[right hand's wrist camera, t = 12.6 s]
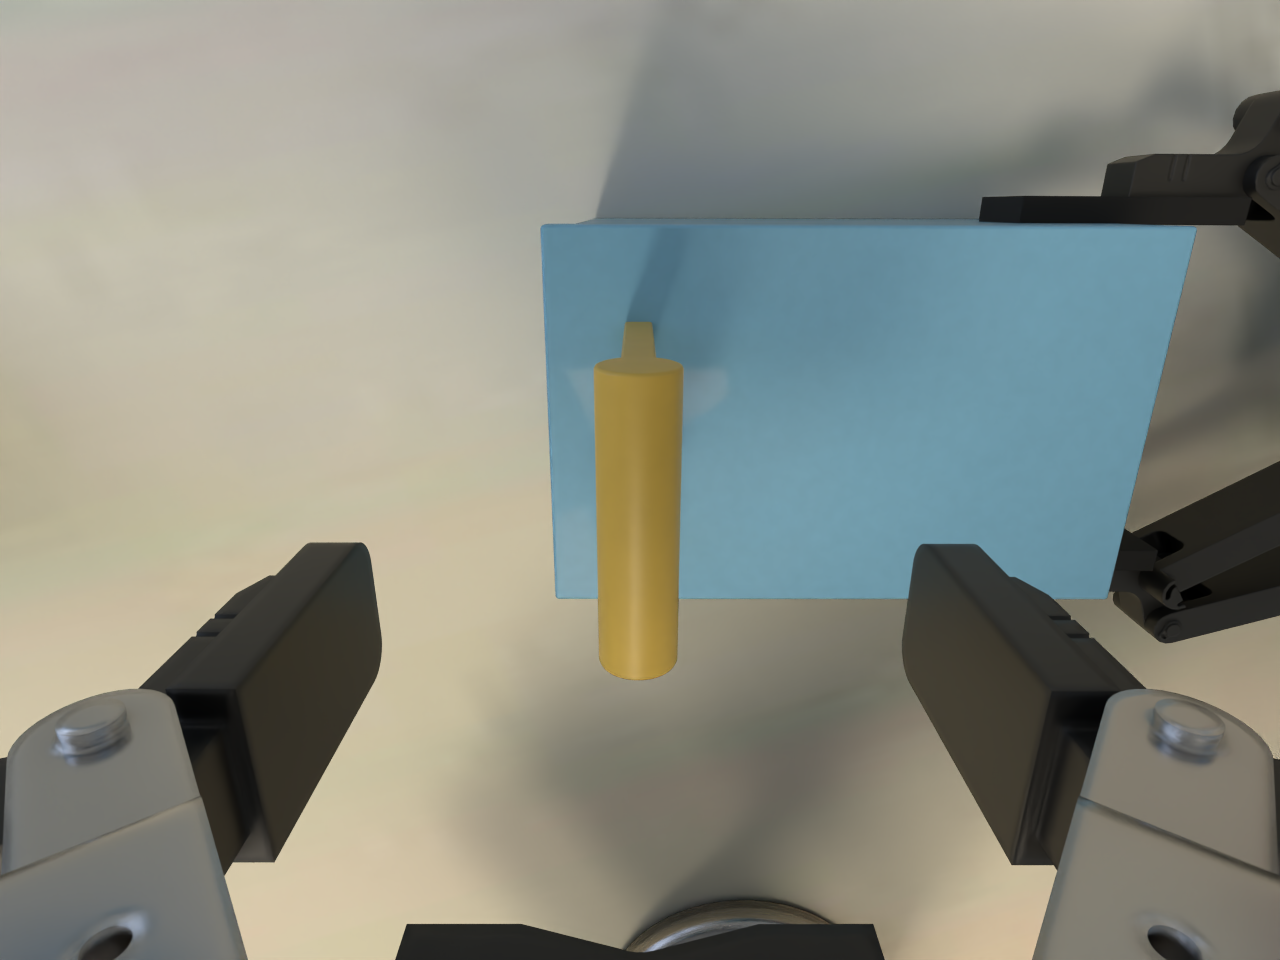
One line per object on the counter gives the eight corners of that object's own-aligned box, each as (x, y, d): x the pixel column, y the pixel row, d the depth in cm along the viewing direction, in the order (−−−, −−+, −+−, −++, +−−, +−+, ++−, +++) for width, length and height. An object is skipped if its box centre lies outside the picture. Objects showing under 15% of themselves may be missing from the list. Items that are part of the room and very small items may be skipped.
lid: (558, 582, 23) (518, 772, 15) (545, 224, 19) (483, 234, 12) (1087, 583, 23) (1314, 773, 15) (1170, 225, 19) (1521, 237, 12)
